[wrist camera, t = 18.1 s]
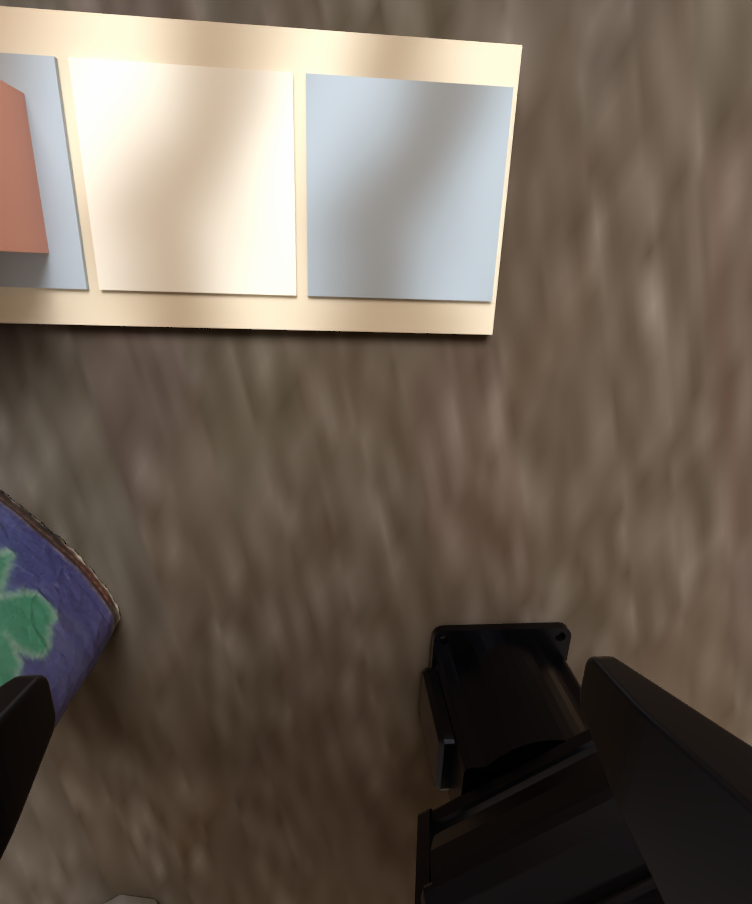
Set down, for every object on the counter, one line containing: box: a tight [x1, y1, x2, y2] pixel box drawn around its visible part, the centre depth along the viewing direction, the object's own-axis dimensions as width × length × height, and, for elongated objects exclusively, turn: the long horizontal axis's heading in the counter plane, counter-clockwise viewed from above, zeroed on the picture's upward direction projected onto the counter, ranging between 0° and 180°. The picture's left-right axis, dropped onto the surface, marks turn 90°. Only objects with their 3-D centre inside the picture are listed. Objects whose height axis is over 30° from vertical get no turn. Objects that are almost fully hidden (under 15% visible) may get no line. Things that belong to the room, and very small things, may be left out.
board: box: [0, 6, 522, 335], centre depth 17 cm, size 21×9×1 cm, turn 88°
